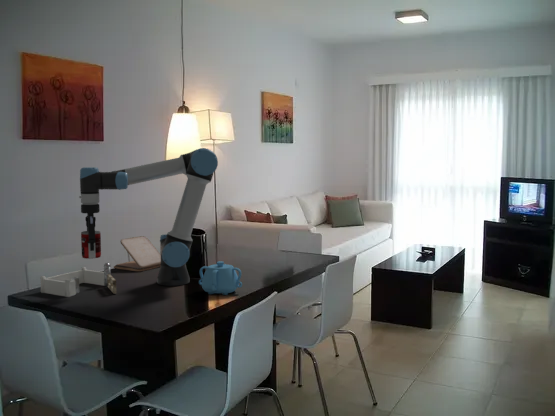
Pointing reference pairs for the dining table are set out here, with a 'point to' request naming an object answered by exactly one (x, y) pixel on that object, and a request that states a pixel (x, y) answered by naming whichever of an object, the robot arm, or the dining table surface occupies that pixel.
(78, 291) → the latch stile
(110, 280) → the gate
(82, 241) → the canned food
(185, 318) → the dining table surface
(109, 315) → the dining table surface
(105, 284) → the hinge post
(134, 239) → the case
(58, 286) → the pen fence
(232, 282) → the decorative pot
